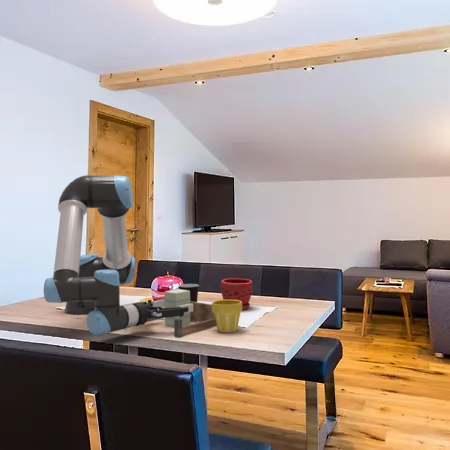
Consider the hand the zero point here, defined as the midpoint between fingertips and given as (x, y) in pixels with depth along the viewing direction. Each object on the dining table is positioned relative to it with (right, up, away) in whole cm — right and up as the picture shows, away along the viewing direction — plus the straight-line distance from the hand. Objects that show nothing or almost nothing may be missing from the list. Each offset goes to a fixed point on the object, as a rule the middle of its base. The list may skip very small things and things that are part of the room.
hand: (179, 305), depth 167 cm
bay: (-2, -7, -2) cm, 7 cm away
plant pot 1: (+22, -6, +27) cm, 35 cm away
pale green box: (-1, -7, 0) cm, 7 cm away
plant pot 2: (+17, -7, -10) cm, 21 cm away
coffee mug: (+2, -7, +28) cm, 29 cm away
